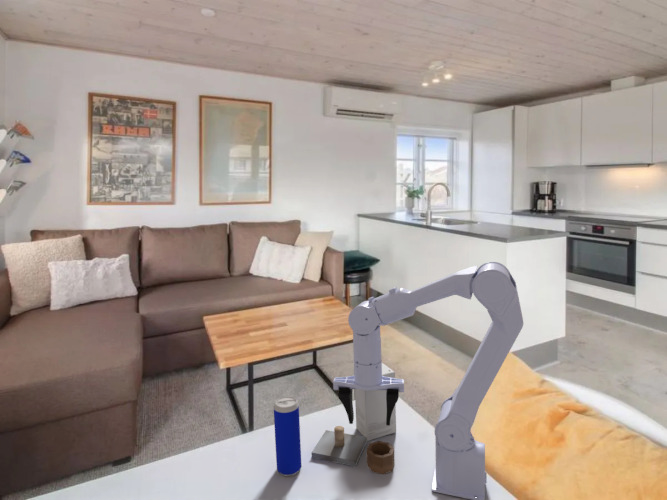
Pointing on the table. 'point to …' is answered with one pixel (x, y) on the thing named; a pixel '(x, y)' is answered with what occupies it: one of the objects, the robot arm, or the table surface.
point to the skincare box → (374, 411)
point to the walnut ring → (380, 457)
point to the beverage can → (287, 435)
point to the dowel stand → (339, 447)
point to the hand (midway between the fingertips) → (369, 422)
